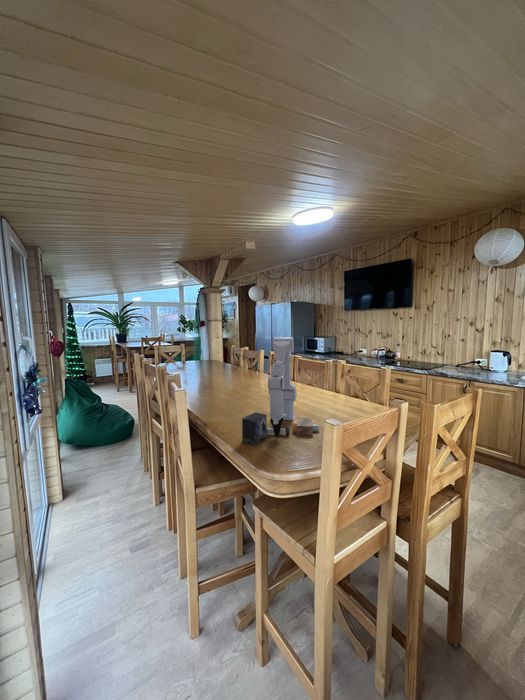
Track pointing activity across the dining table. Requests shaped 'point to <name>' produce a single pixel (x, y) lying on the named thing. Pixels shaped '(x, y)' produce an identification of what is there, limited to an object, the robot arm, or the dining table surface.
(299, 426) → the block
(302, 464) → the dining table surface
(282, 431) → the bar
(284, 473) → the dining table surface
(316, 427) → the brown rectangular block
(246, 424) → the small box
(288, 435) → the keeper post
